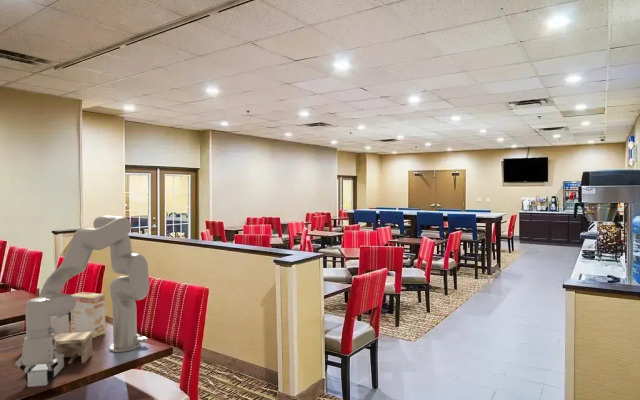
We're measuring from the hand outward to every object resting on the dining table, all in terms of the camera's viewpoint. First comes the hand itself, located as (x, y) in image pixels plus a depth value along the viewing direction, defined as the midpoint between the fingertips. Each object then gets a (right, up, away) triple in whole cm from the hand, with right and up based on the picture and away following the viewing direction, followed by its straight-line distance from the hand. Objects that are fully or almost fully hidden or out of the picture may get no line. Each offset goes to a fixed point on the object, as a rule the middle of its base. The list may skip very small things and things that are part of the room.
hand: (40, 380), depth 152 cm
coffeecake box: (-10, +1, +50) cm, 51 cm away
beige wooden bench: (-4, 0, +20) cm, 20 cm away
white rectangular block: (-1, -1, +6) cm, 6 cm away
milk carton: (-13, 0, +31) cm, 33 cm away
